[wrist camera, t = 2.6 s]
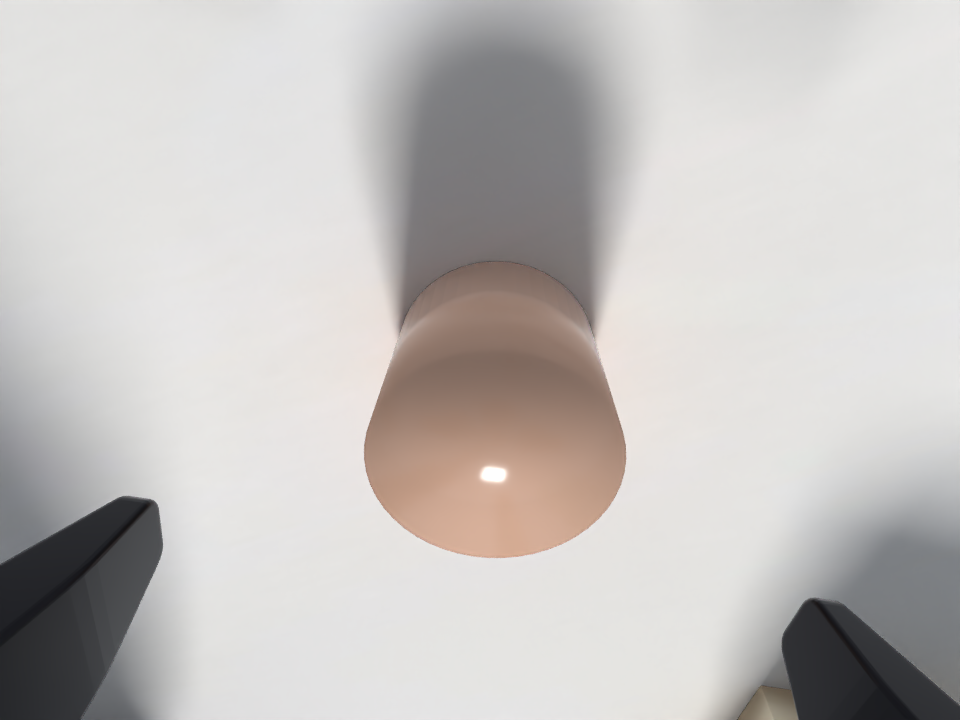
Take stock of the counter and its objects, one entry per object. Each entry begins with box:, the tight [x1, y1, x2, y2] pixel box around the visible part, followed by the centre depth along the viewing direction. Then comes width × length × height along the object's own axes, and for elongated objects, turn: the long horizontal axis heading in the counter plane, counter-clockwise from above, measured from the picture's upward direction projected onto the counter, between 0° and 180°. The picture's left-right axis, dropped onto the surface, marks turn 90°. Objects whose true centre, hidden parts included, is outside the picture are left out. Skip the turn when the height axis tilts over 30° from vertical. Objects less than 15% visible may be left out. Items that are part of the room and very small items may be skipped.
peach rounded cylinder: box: [364, 262, 626, 558], centre depth 12 cm, size 4×4×4 cm
